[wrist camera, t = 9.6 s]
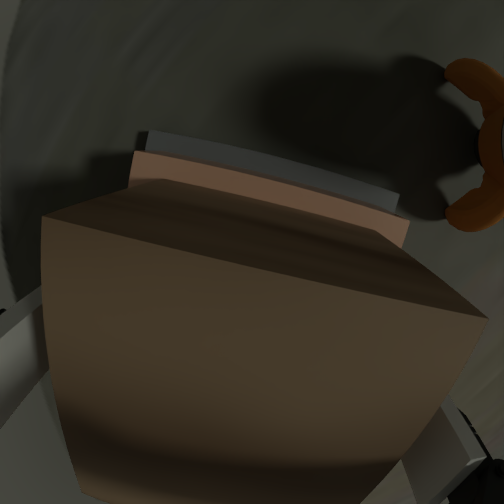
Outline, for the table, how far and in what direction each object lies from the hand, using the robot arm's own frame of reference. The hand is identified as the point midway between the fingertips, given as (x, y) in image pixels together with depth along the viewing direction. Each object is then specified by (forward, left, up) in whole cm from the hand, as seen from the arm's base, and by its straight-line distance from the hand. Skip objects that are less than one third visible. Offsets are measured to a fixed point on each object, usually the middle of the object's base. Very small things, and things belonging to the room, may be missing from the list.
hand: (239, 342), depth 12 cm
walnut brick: (0, 0, -2) cm, 2 cm away
